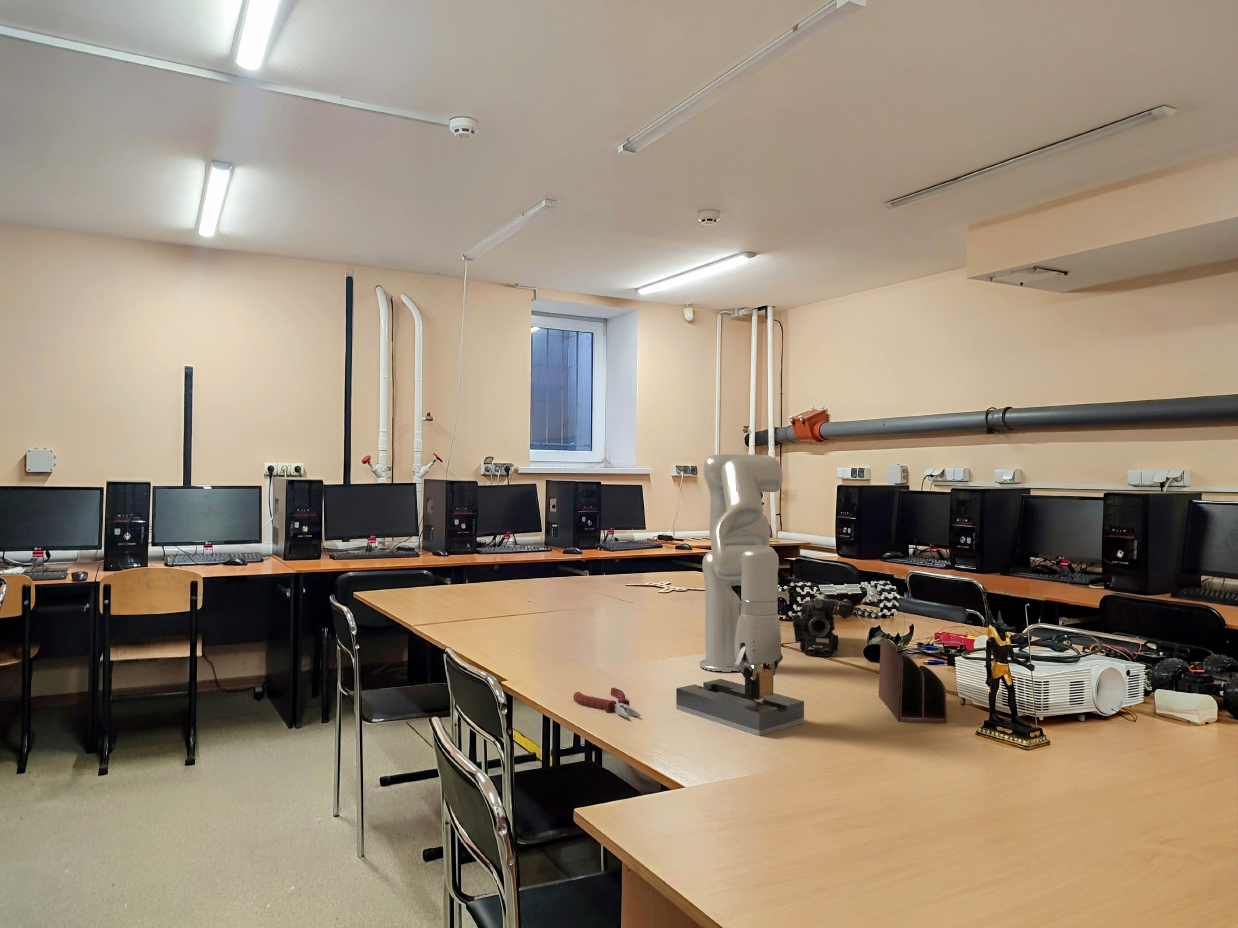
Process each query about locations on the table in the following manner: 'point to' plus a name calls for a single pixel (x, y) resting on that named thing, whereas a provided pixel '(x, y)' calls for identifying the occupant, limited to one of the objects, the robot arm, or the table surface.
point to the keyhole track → (739, 707)
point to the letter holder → (910, 689)
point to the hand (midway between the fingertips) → (759, 694)
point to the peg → (764, 683)
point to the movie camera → (820, 624)
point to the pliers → (608, 703)
